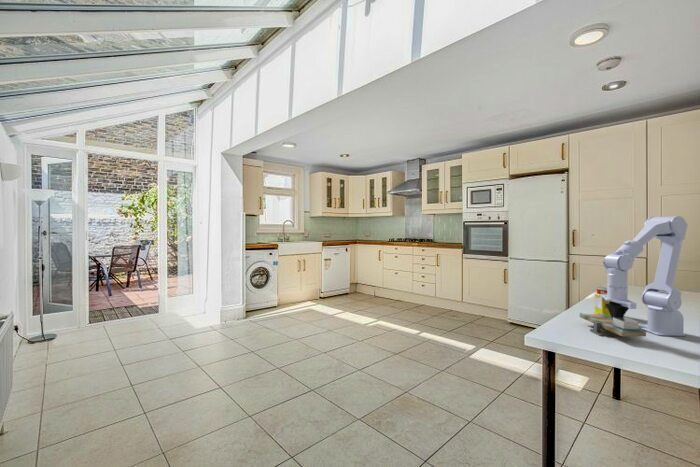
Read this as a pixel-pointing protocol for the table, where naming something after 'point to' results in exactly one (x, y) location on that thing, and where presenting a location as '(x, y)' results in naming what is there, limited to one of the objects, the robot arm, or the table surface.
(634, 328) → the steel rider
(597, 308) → the supplement box
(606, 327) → the balance beam
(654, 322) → the robot arm
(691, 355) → the table surface
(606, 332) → the beam stand
